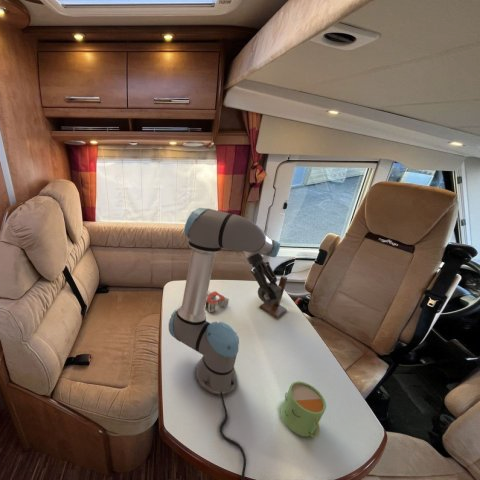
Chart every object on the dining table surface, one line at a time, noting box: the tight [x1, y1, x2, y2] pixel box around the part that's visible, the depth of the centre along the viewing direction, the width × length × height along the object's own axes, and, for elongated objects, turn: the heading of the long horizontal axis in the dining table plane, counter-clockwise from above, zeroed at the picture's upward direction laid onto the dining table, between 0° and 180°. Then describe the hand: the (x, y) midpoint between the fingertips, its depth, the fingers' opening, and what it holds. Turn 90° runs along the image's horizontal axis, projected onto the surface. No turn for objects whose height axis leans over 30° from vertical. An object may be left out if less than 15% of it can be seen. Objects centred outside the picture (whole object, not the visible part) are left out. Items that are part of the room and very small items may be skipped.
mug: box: [280, 380, 327, 438], centre depth 76 cm, size 13×10×12 cm
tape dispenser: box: [205, 290, 230, 313], centre depth 133 cm, size 18×5×20 cm
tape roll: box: [257, 283, 283, 305], centre depth 118 cm, size 10×4×10 cm, turn 37°
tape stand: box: [259, 275, 288, 319], centre depth 123 cm, size 18×10×20 cm, turn 127°
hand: (276, 297), depth 115 cm, fingers closed on tape roll, 4 cm apart
